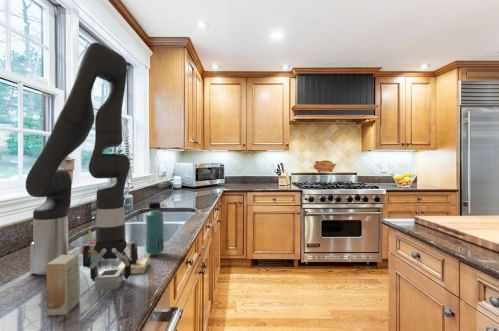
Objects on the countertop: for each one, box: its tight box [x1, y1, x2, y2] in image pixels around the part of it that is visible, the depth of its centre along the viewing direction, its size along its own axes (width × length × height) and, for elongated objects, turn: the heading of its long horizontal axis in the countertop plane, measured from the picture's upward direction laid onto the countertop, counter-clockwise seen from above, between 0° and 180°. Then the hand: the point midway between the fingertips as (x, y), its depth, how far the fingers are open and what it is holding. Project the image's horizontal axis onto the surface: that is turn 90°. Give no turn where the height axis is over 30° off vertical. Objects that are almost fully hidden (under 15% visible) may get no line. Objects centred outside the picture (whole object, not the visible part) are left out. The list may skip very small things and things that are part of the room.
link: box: [94, 267, 125, 291], centre depth 81 cm, size 6×6×4 cm
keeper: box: [116, 250, 149, 275], centre depth 92 cm, size 8×8×7 cm
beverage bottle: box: [145, 201, 165, 255], centre depth 106 cm, size 6×7×20 cm
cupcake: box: [80, 228, 104, 263], centre depth 100 cm, size 9×8×12 cm
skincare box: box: [46, 254, 80, 316], centre depth 68 cm, size 6×4×12 cm
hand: (111, 279), depth 81 cm, fingers open, 8 cm apart
